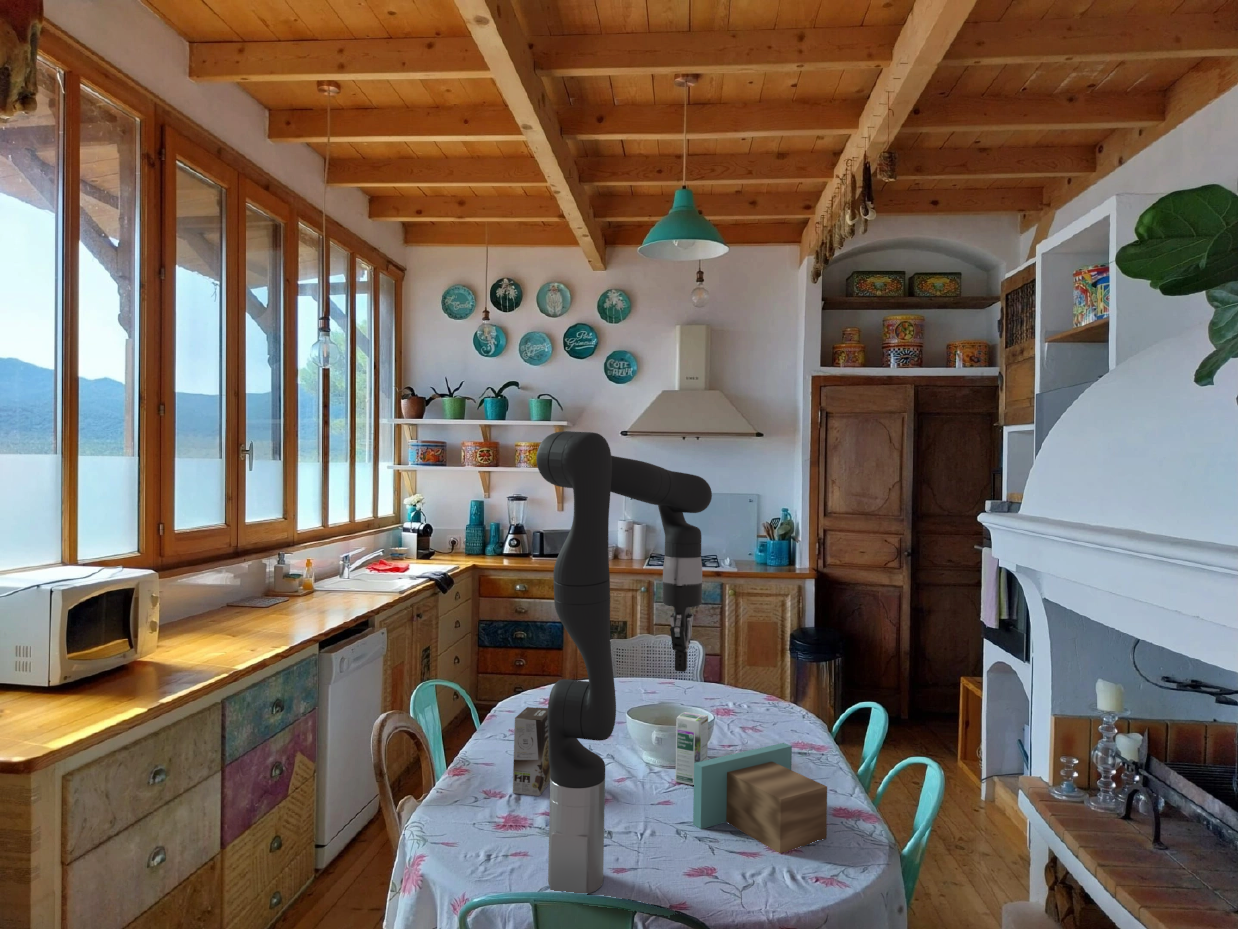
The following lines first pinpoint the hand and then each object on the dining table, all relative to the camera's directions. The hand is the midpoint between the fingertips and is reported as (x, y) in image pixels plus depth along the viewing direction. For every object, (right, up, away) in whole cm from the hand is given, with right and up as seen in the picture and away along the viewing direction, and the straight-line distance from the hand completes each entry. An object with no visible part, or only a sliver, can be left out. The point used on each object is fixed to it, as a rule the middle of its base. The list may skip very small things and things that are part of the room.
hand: (680, 670), depth 149 cm
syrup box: (+4, -32, +26) cm, 41 cm away
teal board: (+13, -31, +9) cm, 35 cm away
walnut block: (+18, -32, +2) cm, 37 cm away
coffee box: (-31, -31, +21) cm, 48 cm away
